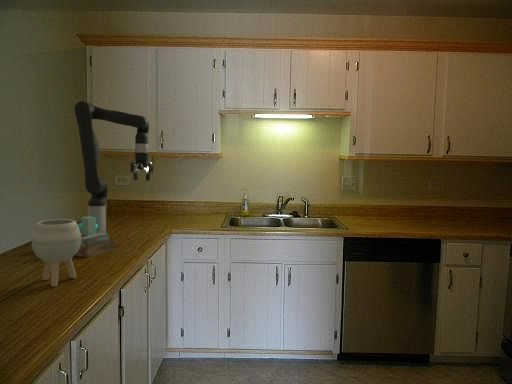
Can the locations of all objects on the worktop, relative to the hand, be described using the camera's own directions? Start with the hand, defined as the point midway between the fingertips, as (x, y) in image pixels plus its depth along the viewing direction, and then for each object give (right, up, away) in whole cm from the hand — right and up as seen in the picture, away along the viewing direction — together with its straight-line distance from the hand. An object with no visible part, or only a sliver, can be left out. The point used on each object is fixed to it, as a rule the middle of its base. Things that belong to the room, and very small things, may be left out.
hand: (141, 180), depth 221 cm
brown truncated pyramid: (-16, -35, -34) cm, 51 cm away
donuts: (-24, -34, -16) cm, 44 cm away
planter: (-8, -40, -78) cm, 88 cm away
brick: (-15, -27, -35) cm, 47 cm away
